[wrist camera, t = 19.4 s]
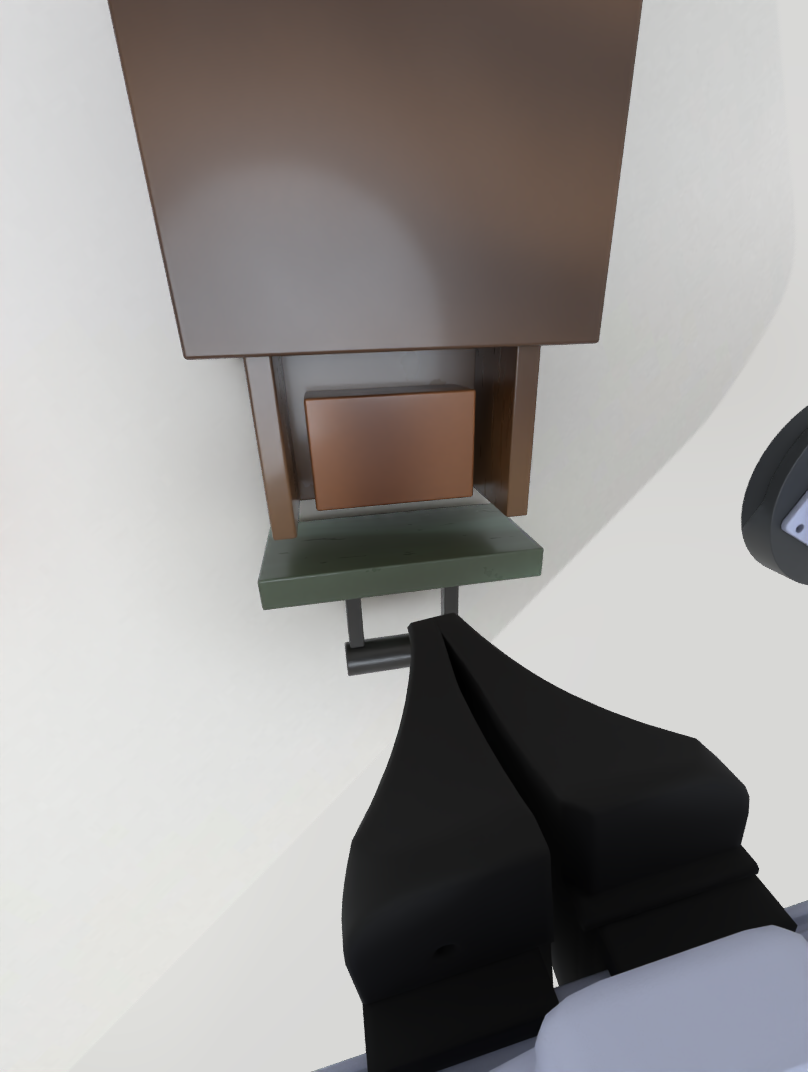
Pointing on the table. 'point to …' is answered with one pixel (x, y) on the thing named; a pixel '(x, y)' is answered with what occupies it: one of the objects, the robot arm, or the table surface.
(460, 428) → the brown rectangular block
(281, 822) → the table surface
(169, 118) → the cabinet
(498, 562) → the drawer
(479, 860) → the robot arm
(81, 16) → the table surface
